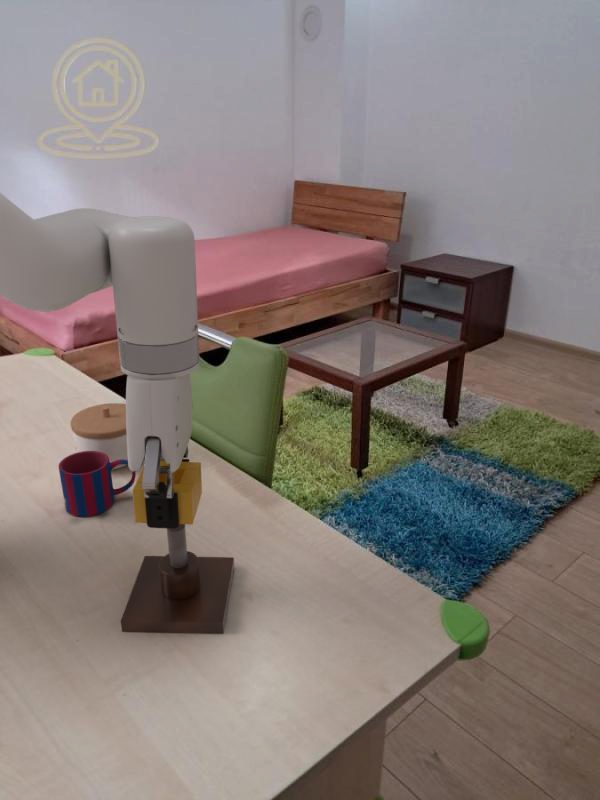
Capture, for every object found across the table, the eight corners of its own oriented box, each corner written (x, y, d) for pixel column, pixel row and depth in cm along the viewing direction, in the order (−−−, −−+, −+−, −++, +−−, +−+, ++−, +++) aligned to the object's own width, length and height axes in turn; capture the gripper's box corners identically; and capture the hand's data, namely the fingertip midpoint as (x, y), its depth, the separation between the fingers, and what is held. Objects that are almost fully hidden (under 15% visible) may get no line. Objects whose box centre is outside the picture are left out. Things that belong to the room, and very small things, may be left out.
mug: (69, 493, 93) (62, 452, 90) (139, 487, 95) (134, 447, 92) (61, 519, 87) (54, 476, 84) (136, 512, 89) (131, 470, 86)
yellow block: (135, 522, 66) (132, 490, 64) (148, 491, 71) (146, 460, 69) (193, 524, 66) (191, 492, 64) (202, 492, 71) (200, 462, 69)
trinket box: (159, 460, 102) (154, 407, 98) (99, 485, 95) (91, 430, 91) (123, 438, 109) (117, 388, 105) (64, 460, 101) (55, 407, 98)
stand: (121, 631, 68) (111, 557, 64) (145, 565, 78) (138, 497, 74) (223, 633, 68) (219, 559, 64) (234, 567, 78) (231, 498, 74)
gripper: (142, 322, 69) (153, 465, 76) (92, 385, 53) (112, 558, 60) (211, 324, 69) (215, 467, 76) (182, 388, 53) (191, 560, 60)
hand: (169, 506), depth 68 cm, fingers closed on yellow block, 6 cm apart
